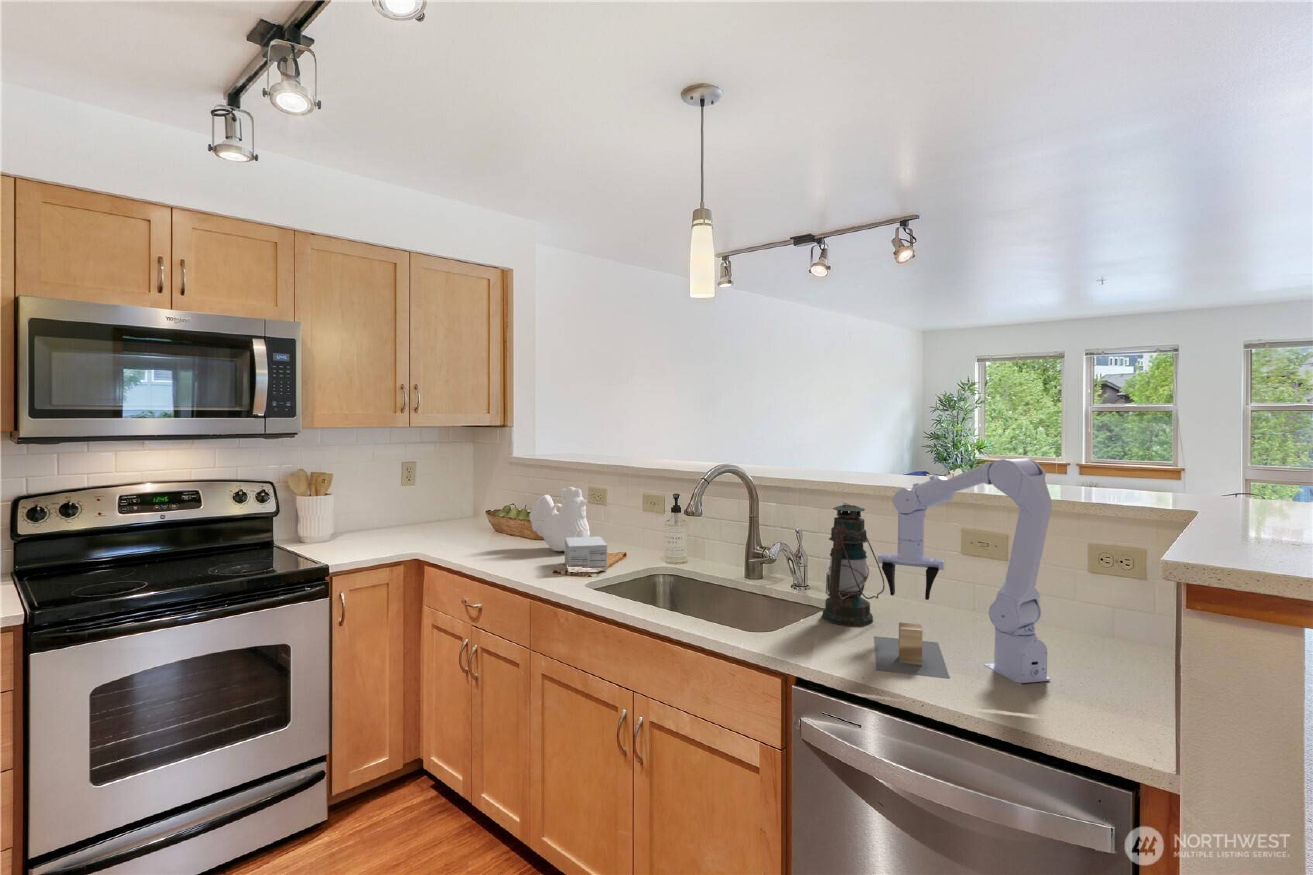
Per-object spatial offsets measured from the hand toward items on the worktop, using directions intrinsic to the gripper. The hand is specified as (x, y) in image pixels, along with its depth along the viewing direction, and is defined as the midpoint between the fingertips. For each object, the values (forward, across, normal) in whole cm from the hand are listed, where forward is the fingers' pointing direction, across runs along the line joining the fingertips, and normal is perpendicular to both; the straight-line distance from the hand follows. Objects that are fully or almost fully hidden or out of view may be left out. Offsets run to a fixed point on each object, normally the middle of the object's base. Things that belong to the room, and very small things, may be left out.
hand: (909, 596), depth 156 cm
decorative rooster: (+10, +134, -45) cm, 141 cm away
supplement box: (+10, +108, -25) cm, 111 cm away
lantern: (+10, +16, -9) cm, 21 cm away
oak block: (+10, -2, +16) cm, 19 cm away
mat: (+10, -2, +13) cm, 16 cm away
